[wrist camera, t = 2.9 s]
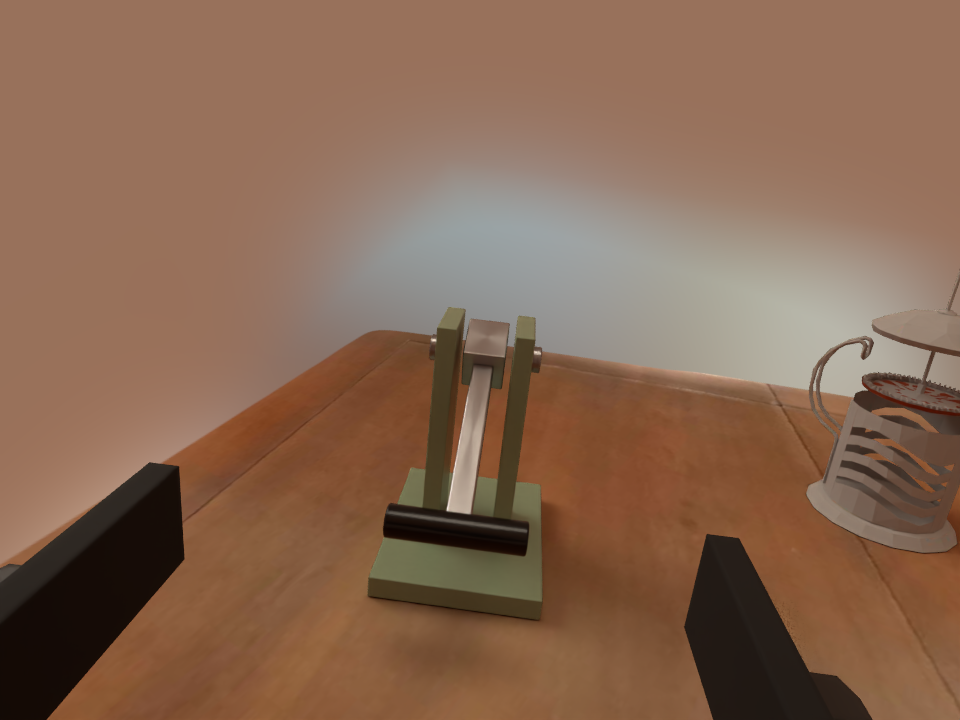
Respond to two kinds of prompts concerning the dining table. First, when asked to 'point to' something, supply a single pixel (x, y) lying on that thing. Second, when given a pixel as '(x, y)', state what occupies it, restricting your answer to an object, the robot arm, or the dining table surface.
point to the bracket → (465, 571)
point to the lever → (467, 463)
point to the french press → (878, 483)
